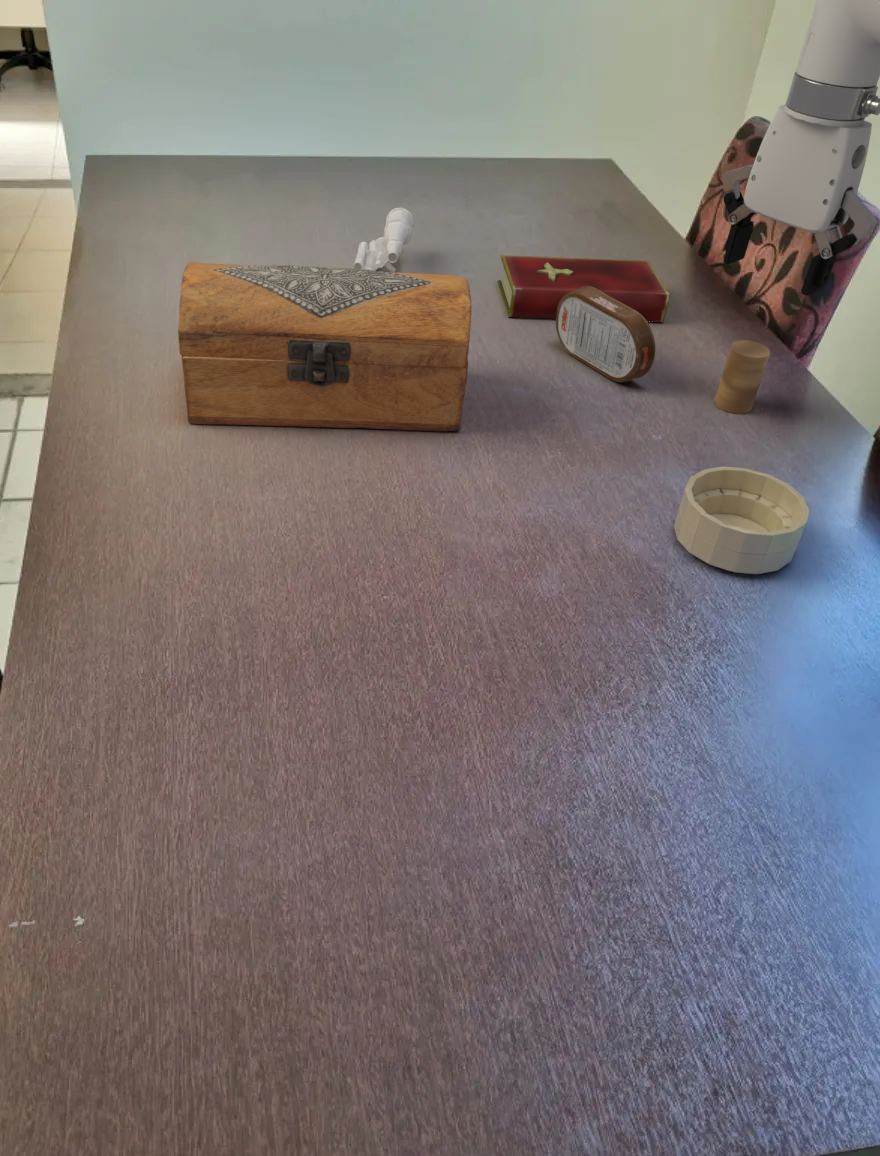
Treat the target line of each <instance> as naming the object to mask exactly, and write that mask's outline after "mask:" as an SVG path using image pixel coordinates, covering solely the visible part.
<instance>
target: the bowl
mask: <svg viewBox="0 0 880 1156" xmlns="http://www.w3.org/2000/svg"><path fill="white" fill-rule="evenodd" d="M810 513H811V510H810V508H809V505H808V503H807V501H806V499H805V497H804V496H803V495H802V494H801V493H800V492H799V491H797V490H796V489H795V488H794V487H793V486H792V485H791V484H790V483H787V482H786V481H783V480H782V479H779V478H777V477H775V476H774V475H772V474H769V473H765V472H763V471H758V470H754V469H751V468H748V467H737V466H718V467H710V468H705V469H702V470H700V471H699V472H697V473H695V474H693V475H691V476H690V477H689V479H688V481H687V483H686V485H685V487H684V490H683V493H682V497H681V500H680V503H679V507H678V509H677V514H676V517H675V521H674V523H673V529H674V532H675V537H676V539H677V541H678V542H679V543H680V544H681V545H682V546H683V548H684V549H685V550H686V551H687V552H688V553H689V554H691V555H692V556H694V557H696V558H697V559H700V560H701V561H702V562H705V563H706V564H708V565H710V566H713V567H716V568H719V569H722V570H726V571H728V572H732V573H739V574H748V575H749V574H750V575H751V574H752V575H760V574H765V573H770V572H772V573H773V572H777V571H779V570H781V569H782V568H783V567H785V566H786V565H788V564H789V563H790V562H791V561H792V560H793V558H794V555H795V553H796V551H797V548H798V545H799V543H800V541H801V538H802V535H803V533H804V530H805V528H806V525H807V523H808V521H809V517H810Z"/></svg>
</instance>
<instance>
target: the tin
mask: <svg viewBox="0 0 880 1156" xmlns="http://www.w3.org/2000/svg"><path fill="white" fill-rule="evenodd" d="M555 330H556V334H557V337H558V339H559V342H560V344H561V345H562V347H563V348H564V351H566V352H567V353H568V354H569V355H570V356H572V357H573V358H575V359H577V360H578V361H580V362H581V363H583V364H584V365H586V366H588V367H589V368H591V369H593V370H594V371H596V372H597V373H599V374H600V375H602V376H604V377H605V378H607V379H609V380H610V381H613V382H615V383H626V382H629V381H632V380H636V379H640V378H643V377H644V376H646V375H647V373H649V371H650V370H651V368H652V366H653V364H654V361H655V357H656V340H655V335H654V332H653V330H652V328H651V326H650V324H649V322H647V321H646V319H645V318H644V317H643V316H642V315H641V314H640V313H639V312H637V311H635V310H634V309H632V308H630V307H628V306H626V305H624V304H623V303H621V302H619V301H617V300H615V299H613V298H612V297H610V296H608V295H606V294H605V293H603V292H601V291H599V290H598V289H596V288H594V287H590V286H585V287H582V288H579V289H578V290H575V291H572V292H570V293H568V294H566V295H565V296H564V297H563V298H562V299H561V300H560V302H559V304H558V308H557V314H556V319H555Z"/></svg>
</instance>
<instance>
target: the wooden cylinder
mask: <svg viewBox="0 0 880 1156" xmlns="http://www.w3.org/2000/svg"><path fill="white" fill-rule="evenodd" d="M770 355H771V350H770V348H769V347H767V346H766V345H764V344H762V343H760V342H757V341H752V340H747V339H745V340H744V339H741V340H735V341H733V342H732V343H731V344H730V348H729V349H728V353H727V355H726V356H727V357H726V360H725V363H724V366H723V369H722V373H721V376H720V380H719V383H718V386H717V390H716V393H715V396H714V399H713V403H714V405H715V406H716V407H717V408H718V409H720V410H721V411H724V412H726V413H730V414H737V415H740V414H741V415H742V414H748V413H749V412H751V411H752V409H753V406H754V403H755V402H756V401H755V400H756V397H757V395H758V391H759V389H760V385H761V383H762V379H763V376H764V373H765V370H766V367H767V364H768V361H769V358H770Z"/></svg>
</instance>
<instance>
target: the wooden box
mask: <svg viewBox="0 0 880 1156" xmlns="http://www.w3.org/2000/svg"><path fill="white" fill-rule="evenodd" d="M182 273H183V274H182V278H181V285H180V298H179V304H178V305H179V306H178V320H177V322H178V323H177V335H178V336H177V337H178V338H177V339H178V351H179V355H181V365H182V375H183V386H184V395H185V403H186V413H187V414H186V415H187V421H188V424H189V423H190V424H194V425H233V426H234V425H235V426H237V425H240V426H269V427H271V426H272V427H305V428H340V429H341V428H342V429H356V428H361V429H374V430H401V431H427V432H457V431H459V430H461V429H460V428H461V423H462V416H463V415H462V413H463V408H464V401H465V393H466V386H467V379H468V374H469V373H468V371H469V370H468V369H469V360H468V359H469V351H470V341H471V340H470V339H471V327H472V325H471V323H472V296H471V295H472V294H471V288H470V283H469V280H468V278H467V277H466V276H465V277H464V276H460V275H455V274H435V273H433V274H432V273H418V272H417V273H415V272H398V271H397V272H396V271H394V272H389V271H380V270H364V269H354V268H348V267H347V268H345V267H330V266H308V265H293V264H291V265H289V264H282V265H278V264H235V263H234V264H231V263H207V262H198V261H197V262H196V261H190V262H188V263H187V264H186V265H185V268H184V270H183V272H182Z"/></svg>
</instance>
